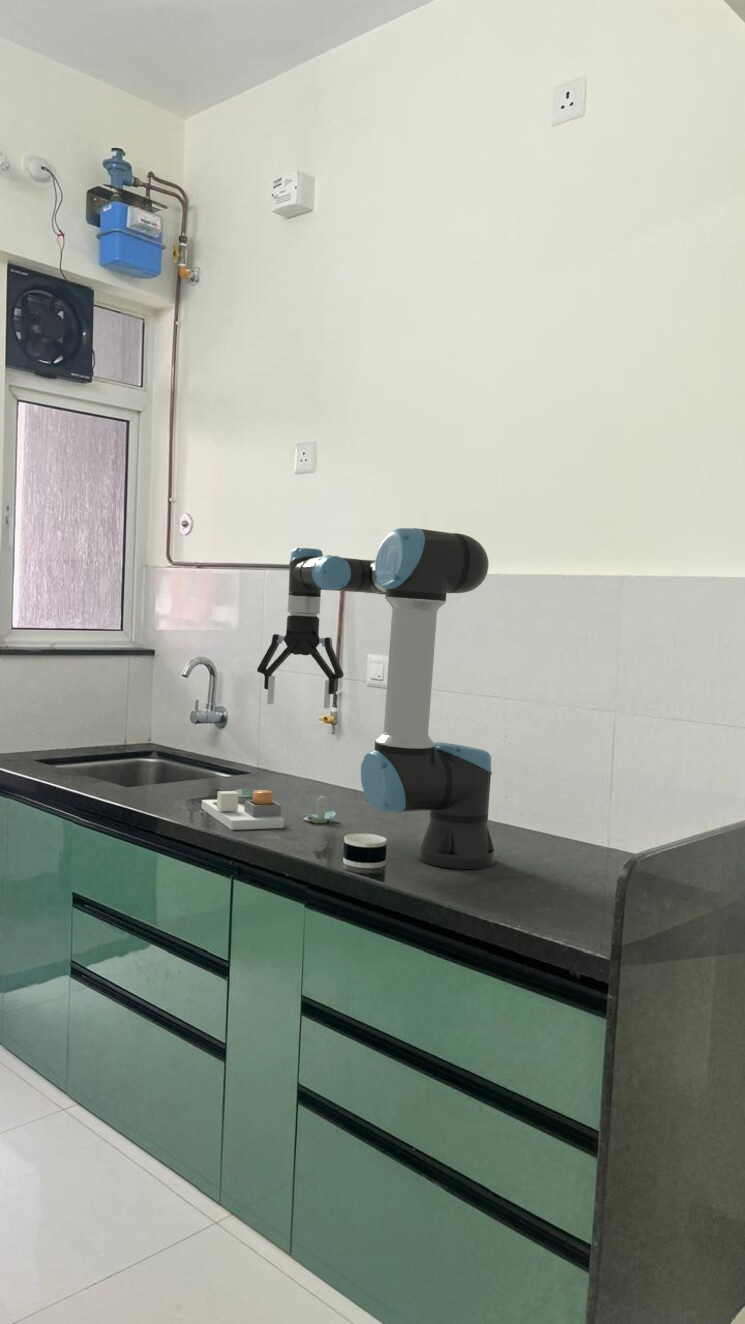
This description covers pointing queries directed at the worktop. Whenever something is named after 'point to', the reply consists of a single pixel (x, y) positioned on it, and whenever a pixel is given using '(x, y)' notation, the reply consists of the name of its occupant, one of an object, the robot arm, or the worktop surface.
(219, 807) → the off-white square block
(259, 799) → the plunger button
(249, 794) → the rocker
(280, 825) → the panel
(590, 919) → the worktop surface
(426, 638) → the robot arm
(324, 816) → the pacifier
